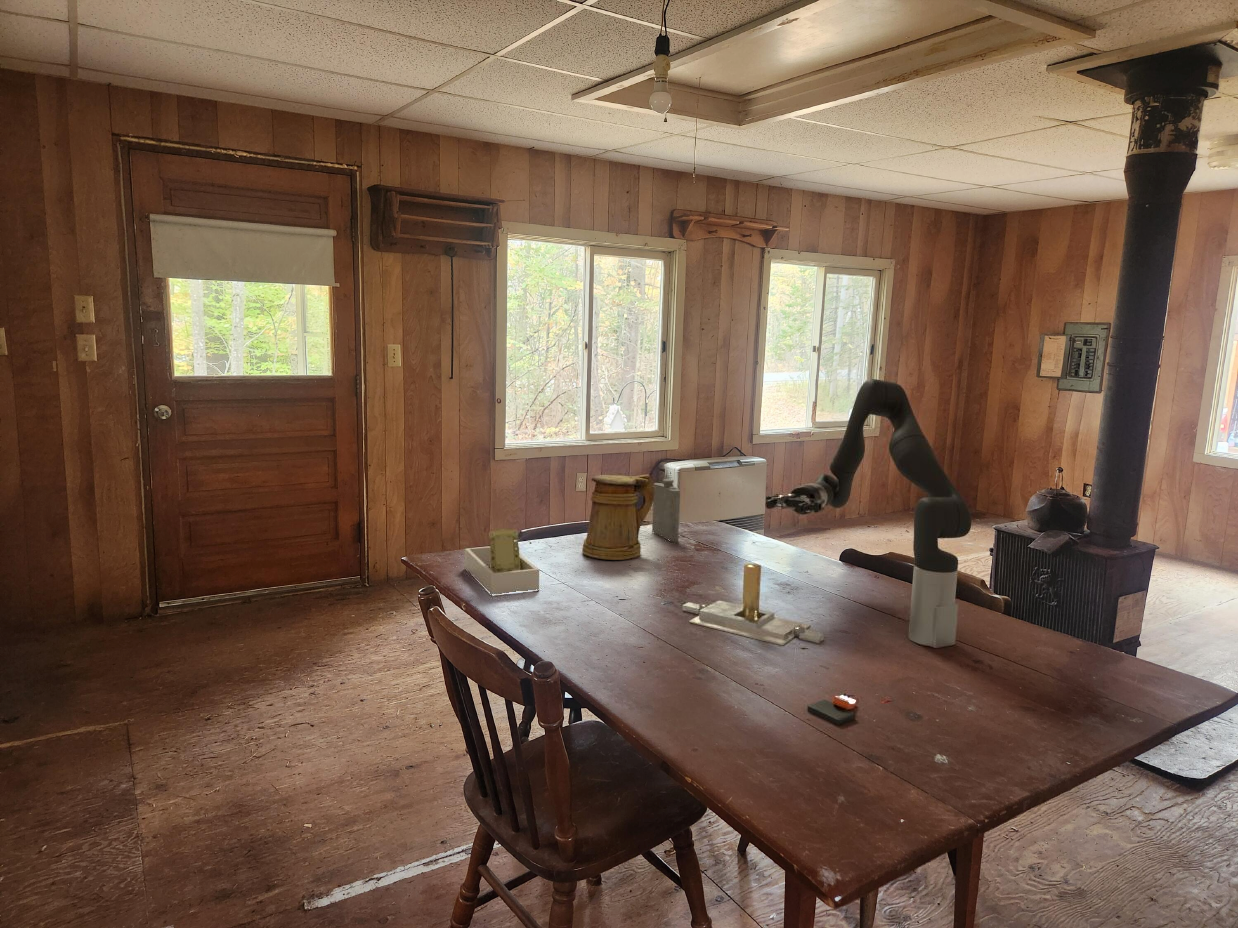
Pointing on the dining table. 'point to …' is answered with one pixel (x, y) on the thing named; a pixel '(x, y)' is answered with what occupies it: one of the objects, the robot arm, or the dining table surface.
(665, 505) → the hip flask
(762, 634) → the peg-in-hole plate
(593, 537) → the tankard
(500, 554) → the mechanical component
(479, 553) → the parts tray
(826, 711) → the multimeter
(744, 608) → the pin
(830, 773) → the dining table surface
